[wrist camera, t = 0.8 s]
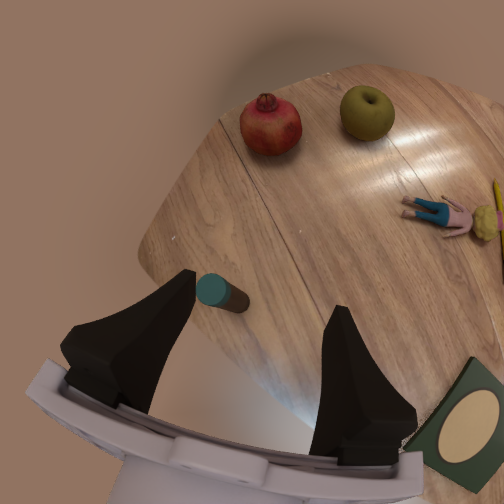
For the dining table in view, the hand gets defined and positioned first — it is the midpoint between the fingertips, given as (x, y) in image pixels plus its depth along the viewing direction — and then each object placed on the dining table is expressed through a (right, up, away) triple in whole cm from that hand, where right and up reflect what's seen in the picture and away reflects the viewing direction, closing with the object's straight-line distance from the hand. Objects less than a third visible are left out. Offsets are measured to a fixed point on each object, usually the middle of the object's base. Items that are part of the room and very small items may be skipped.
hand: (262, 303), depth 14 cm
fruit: (+3, +18, +24) cm, 30 cm away
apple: (+16, +20, +22) cm, 34 cm away
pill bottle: (-2, -3, +19) cm, 19 cm away
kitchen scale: (+29, -22, +7) cm, 37 cm away
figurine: (+25, +7, +16) cm, 31 cm away
